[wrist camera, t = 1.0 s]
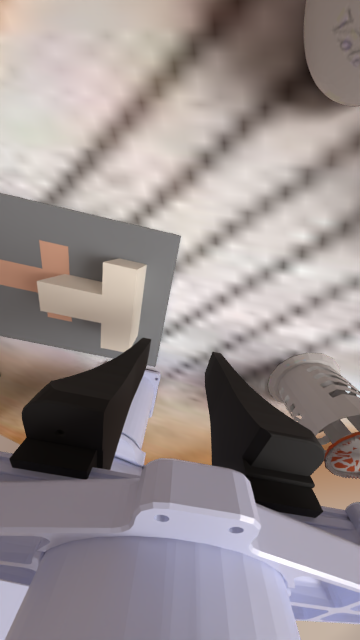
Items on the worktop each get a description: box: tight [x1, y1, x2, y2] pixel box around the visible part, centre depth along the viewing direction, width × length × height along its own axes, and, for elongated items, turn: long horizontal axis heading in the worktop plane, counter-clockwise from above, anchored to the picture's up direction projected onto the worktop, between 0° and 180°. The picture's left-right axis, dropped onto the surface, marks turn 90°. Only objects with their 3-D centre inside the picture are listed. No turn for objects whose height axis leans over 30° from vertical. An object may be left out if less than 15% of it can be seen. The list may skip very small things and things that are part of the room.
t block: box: [37, 258, 147, 352], centre depth 18 cm, size 9×9×4 cm
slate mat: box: [0, 193, 181, 367], centre depth 21 cm, size 17×22×1 cm
